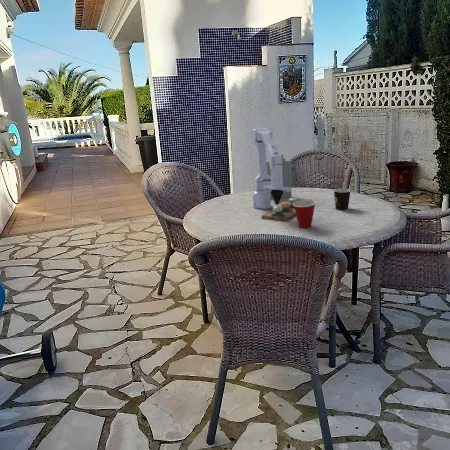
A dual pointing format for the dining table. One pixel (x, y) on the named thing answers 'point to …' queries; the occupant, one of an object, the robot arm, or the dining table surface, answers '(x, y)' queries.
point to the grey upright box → (283, 177)
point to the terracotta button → (285, 204)
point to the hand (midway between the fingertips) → (277, 204)
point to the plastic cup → (304, 212)
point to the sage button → (277, 208)
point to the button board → (281, 214)
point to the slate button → (293, 200)
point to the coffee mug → (342, 198)
